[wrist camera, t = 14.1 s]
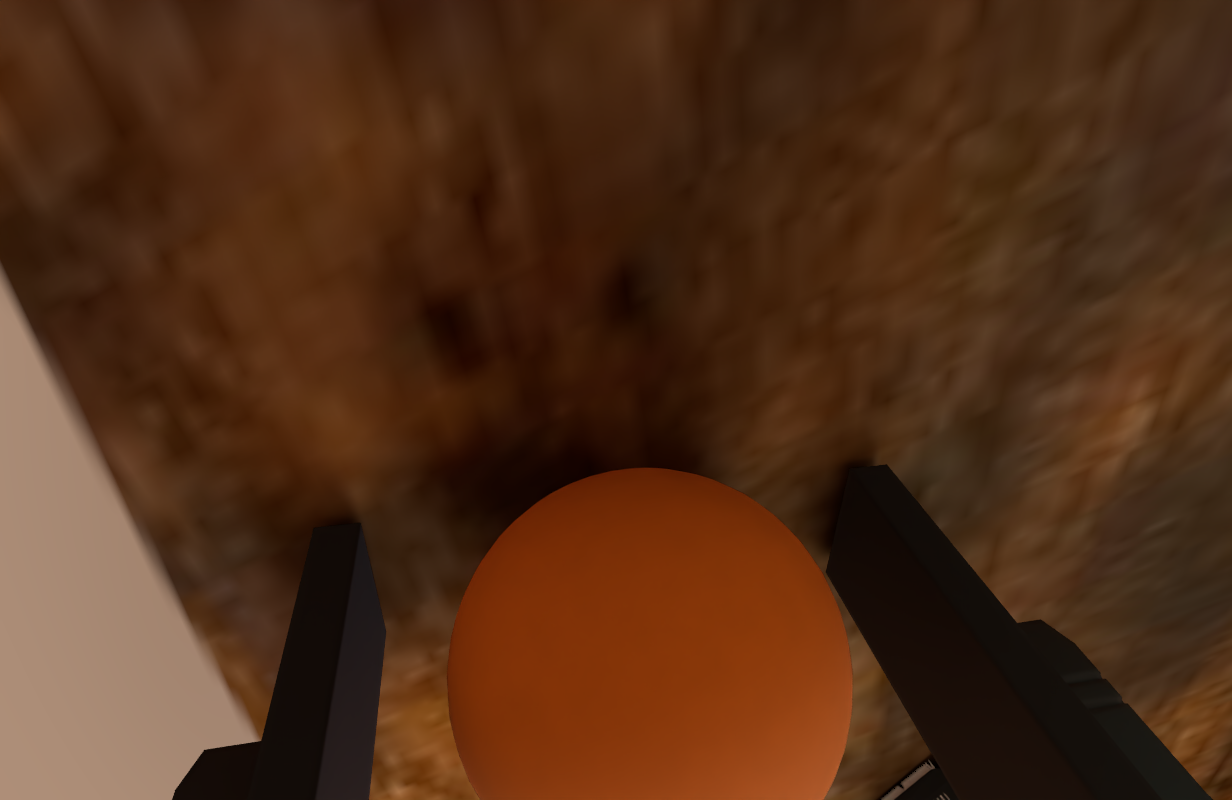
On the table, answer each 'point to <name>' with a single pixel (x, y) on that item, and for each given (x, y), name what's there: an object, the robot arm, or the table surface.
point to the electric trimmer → (924, 786)
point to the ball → (649, 650)
